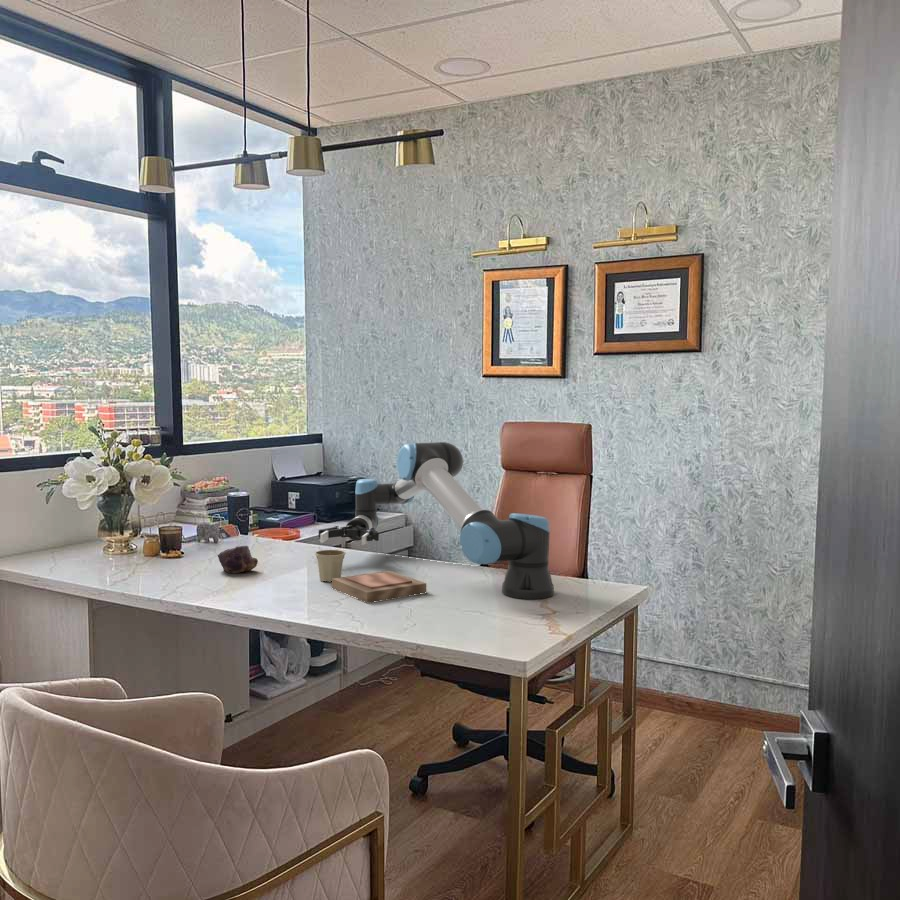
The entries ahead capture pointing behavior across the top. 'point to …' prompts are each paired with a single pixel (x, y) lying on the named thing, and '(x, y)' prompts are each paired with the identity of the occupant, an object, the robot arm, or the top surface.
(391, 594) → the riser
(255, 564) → the rock
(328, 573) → the flower pot
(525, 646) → the top surface
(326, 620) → the top surface
